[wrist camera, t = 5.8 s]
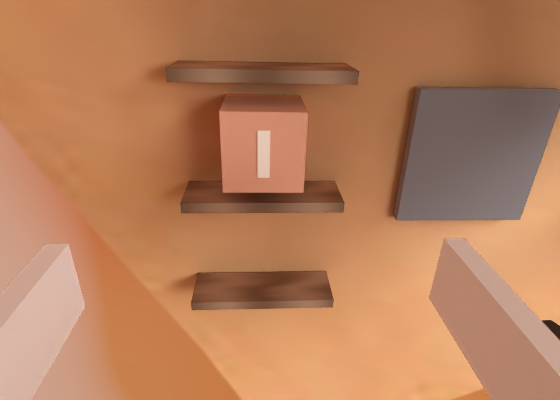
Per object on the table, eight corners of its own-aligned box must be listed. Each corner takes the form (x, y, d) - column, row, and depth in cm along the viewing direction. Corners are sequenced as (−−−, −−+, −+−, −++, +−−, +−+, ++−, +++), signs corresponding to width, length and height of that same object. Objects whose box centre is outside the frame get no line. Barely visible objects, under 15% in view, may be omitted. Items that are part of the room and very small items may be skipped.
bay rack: (360, -97, 23) (379, -116, 20) (325, 277, 36) (332, 307, 32) (162, -105, 22) (144, -127, 19) (198, 279, 35) (191, 309, 32)
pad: (555, 88, 29) (565, 91, 28) (513, 214, 34) (519, 219, 33) (415, 86, 28) (421, 89, 27) (393, 214, 33) (396, 220, 32)
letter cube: (299, 95, 28) (308, 113, 23) (296, 163, 31) (303, 193, 26) (226, 93, 28) (218, 112, 23) (228, 163, 30) (222, 193, 25)
